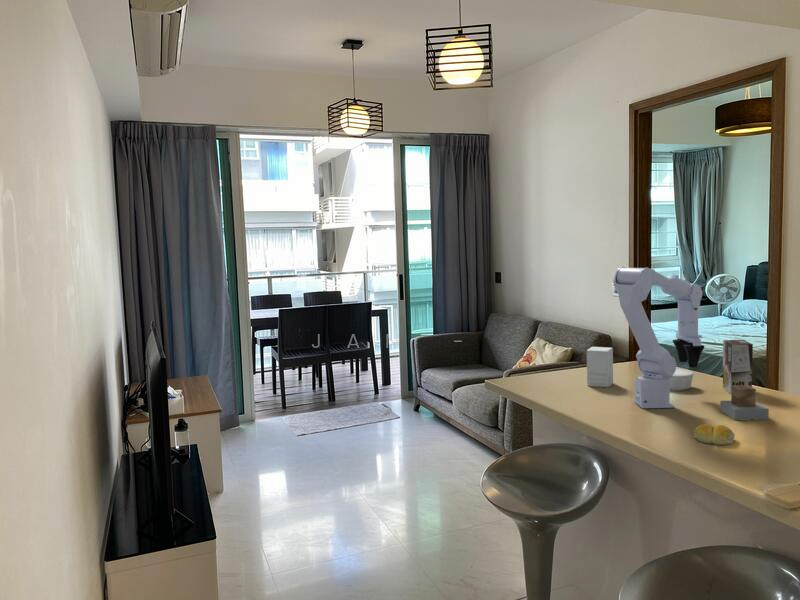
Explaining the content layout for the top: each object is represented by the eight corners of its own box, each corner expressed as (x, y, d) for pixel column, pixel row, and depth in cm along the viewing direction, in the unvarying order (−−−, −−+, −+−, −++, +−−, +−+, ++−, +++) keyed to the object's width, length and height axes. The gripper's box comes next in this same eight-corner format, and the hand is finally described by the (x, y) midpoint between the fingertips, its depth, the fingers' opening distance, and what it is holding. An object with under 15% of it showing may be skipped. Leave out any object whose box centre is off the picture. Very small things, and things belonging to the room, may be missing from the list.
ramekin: (653, 389, 210) (653, 373, 210) (660, 382, 220) (660, 367, 219) (690, 393, 204) (690, 377, 204) (695, 385, 214) (695, 370, 213)
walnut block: (738, 407, 176) (739, 389, 176) (731, 402, 181) (731, 385, 180) (755, 406, 176) (755, 389, 176) (747, 402, 181) (748, 385, 180)
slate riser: (734, 420, 175) (734, 409, 174) (720, 410, 184) (720, 400, 183) (768, 419, 174) (768, 408, 174) (752, 410, 183) (752, 400, 183)
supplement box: (613, 383, 220) (613, 347, 219) (608, 388, 214) (608, 351, 213) (592, 381, 224) (592, 346, 223) (586, 385, 218) (586, 349, 217)
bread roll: (698, 433, 166) (698, 418, 165) (736, 439, 160) (736, 423, 160) (690, 442, 159) (690, 426, 159) (729, 448, 154) (729, 432, 153)
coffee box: (752, 395, 199) (753, 344, 197) (730, 394, 200) (731, 344, 198) (743, 387, 208) (744, 339, 206) (721, 387, 209) (722, 339, 207)
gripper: (711, 324, 189) (711, 369, 191) (691, 317, 204) (691, 359, 205) (687, 325, 190) (687, 370, 191) (669, 318, 204) (669, 359, 206)
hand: (688, 364), depth 198 cm, fingers open, 7 cm apart
